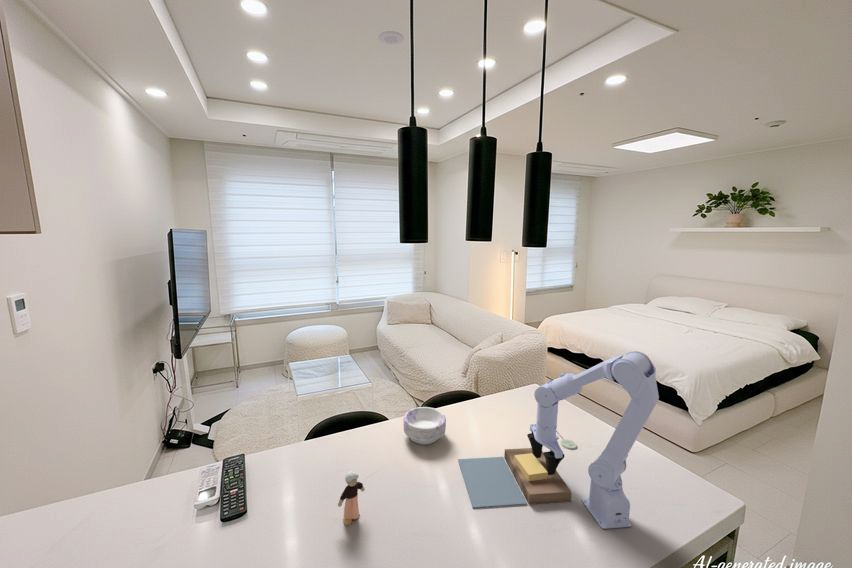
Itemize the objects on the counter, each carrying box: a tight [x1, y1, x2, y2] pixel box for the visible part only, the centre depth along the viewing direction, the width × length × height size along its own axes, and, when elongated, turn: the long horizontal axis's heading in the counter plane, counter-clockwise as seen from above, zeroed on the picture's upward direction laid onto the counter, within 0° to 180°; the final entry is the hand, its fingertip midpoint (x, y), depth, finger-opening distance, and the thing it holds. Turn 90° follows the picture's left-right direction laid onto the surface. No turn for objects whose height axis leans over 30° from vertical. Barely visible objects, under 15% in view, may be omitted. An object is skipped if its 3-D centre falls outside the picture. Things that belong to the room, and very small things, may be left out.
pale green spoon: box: [556, 430, 577, 450], centre depth 125 cm, size 5×1×15 cm
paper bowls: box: [403, 406, 447, 446], centre depth 123 cm, size 15×15×8 cm
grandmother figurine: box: [337, 470, 365, 526], centre depth 87 cm, size 8×4×13 cm, turn 148°
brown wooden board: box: [503, 447, 572, 505], centre depth 103 cm, size 20×12×3 cm, turn 6°
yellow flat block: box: [514, 453, 548, 481], centre depth 102 cm, size 9×6×2 cm, turn 12°
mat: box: [457, 456, 528, 510], centre depth 102 cm, size 20×15×1 cm
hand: (543, 465), depth 103 cm, fingers open, 7 cm apart
